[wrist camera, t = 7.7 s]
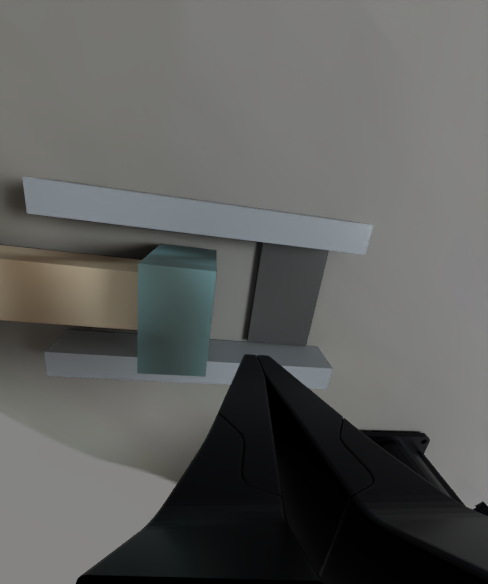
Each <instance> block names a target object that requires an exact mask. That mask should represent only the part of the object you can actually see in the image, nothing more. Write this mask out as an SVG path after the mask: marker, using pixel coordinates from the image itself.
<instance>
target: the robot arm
mask: <svg viewBox="0 0 488 584" xmlns="http://www.w3.org/2000/svg"><path fill="white" fill-rule="evenodd" d="M429 441H430V439H429V438H428V437H427V435H426V434H424V433H401V432H361V431H360V430H358V429H357V428H356V427H355V426H353V425H352V424H351V423H350V422H349V421H347V420H346V419H343V417H342V416H341V415H340V414H339V413H338V412H336V411H335V410H334V409H333V408H332V407H330V406H329V405H328V404H327V403H326V402H324V401H323V400H322V399H321V398H319V397H318V396H317V395H316V394H315V393H313V392H312V391H311V390H310V389H309V388H307V387H306V386H305V385H304V384H303V383H301V382H300V381H299V380H298V379H297V378H295V377H294V376H293V375H292V374H291V373H289V372H288V371H287V370H286V369H285V368H283V367H282V366H281V365H280V364H278V363H277V362H276V361H275V360H274V359H272V358H271V357H270V356H268V355H257V356H256V355H252V354H244V356H243V358H242V360H241V362H240V365H239V367H238V369H237V371H236V374H235V376H234V378H233V380H232V383H231V385H230V387H229V389H228V392H227V394H226V396H225V399H224V401H223V403H222V405H221V408H220V410H219V412H218V415H217V416H216V418H215V421H214V423H213V425H212V427H211V429H210V431H209V433H208V435H207V437H206V439H205V441H204V443H203V444H202V446H201V448H200V449H199V451H198V453H197V454H196V456H195V457H194V459H193V460H192V462H191V463H190V465H189V466H188V468H187V470H186V471H185V473H184V474H183V476H182V477H181V479H180V480H179V482H178V483H177V485H176V487H175V488H174V489H173V491H172V492H171V494H170V495H169V497H168V498H167V500H166V501H165V503H164V504H163V506H162V507H161V509H160V510H159V511H158V513H157V514H156V515H155V516H154V518H153V519H152V520H151V521H150V522H149V523H148V524H147V525H146V526H145V527H144V528H143V529H142V530H141V531H140V532H138V533H137V534H136V535H134V536H133V537H132V538H130V539H129V540H128V541H126V542H125V543H124V544H122V545H121V546H120V547H118V548H117V549H116V550H115V551H113V552H112V553H110V554H109V555H108V556H106V557H105V558H104V559H103V560H101V561H100V562H98V563H97V564H96V565H95V566H93V567H92V568H91V569H89V570H88V571H87V572H85V573H84V574H83V575H81V576H80V577H79V578H78V579H77V582H76V584H488V506H487V505H486V504H485V503H484V502H481V503H479V504H477V505H476V508H475V509H473V510H472V509H470V508H468V507H466V506H465V505H464V504H463V502H462V501H461V500H460V499H459V497H458V496H457V495H456V494H455V492H454V491H453V490H452V489H451V487H450V486H449V485H448V484H447V483H446V481H445V480H444V479H443V478H442V476H441V475H440V474H439V473H438V471H437V470H436V469H435V468H434V466H433V465H432V464H431V463H430V461H429V460H428V459H427V458H426V456H425V455H424V452H425V450H426V448H427V446H428V444H429Z"/></svg>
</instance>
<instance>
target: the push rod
mask: <svg viewBox="0 0 488 584" xmlns="http://www.w3.org/2000/svg"><path fill="white" fill-rule="evenodd" d="M215 281H216V250H209V249H201V248H192V247H183V246H175V245H166V244H160V245H159V246H158V247H157V248H155V249H154V250H153V251H152V252H151V253H150V254H148V255H147V256H146V257H145V258H144V259H143V260H137V259H128V258H118V257H109V256H99V255H90V254H81V253H71V252H62V251H52V250H43V249H33V248H24V247H15V246H5V245H0V320H4V321H18V322H32V323H46V324H60V325H74V326H88V327H102V328H116V329H130V330H137V373H140V374H160V375H180V376H200V377H206V367H207V358H208V348H209V338H210V329H211V319H212V310H213V300H214V291H215Z"/></svg>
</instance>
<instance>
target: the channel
mask: <svg viewBox="0 0 488 584" xmlns="http://www.w3.org/2000/svg"><path fill="white" fill-rule="evenodd" d="M22 178H23V186H24V194H25V202H26V211H27V213H28V214H36V215H44V216H52V217H61V218H69V219H77V220H85V221H93V222H101V223H110V224H118V225H126V226H134V227H142V228H151V229H159V230H167V231H175V232H183V233H191V234H200V235H208V236H216V237H224V238H232V239H241V240H249V241H257V242H262V246H261V253H260V259H259V266H258V272H257V279H256V285H255V291H254V298H253V304H252V311H251V317H250V323H249V330H248V336H247V341H248V342H241V341H227V340H212V339H209V348H208V358H207V367H206V377H200V376H180V375H160V374H140V373H137V334H126V333H111V332H97V331H82V330H68V331H67V332H66V333H64V334H63V335H62V336H61V337H60V338H59V339H58V340H57V341H56V342H55V343H53V344H52V345H51V346H50V347H49V348H48V349H47V350H46V351H45V352H44V356H45V364H46V372H47V376H57V377H79V378H100V379H122V380H143V381H165V382H186V383H208V384H229V385H231V383H232V380H233V378H234V376H235V374H236V371H237V369H238V367H239V365H240V362H241V360H242V358H243V356H244V354H252V355H256V356H257V355H268V356H270V357H271V358H272V359H274V360H275V361H276V362H277V363H278V364H280V365H281V366H282V367H283V368H285V369H286V370H287V371H288V372H289V373H291V374H292V375H293V376H294V377H295V378H297V379H298V380H299V381H300V382H301V383H303V384H304V385H305V386H306V387H307V388H315V389H327V387H328V383H329V380H330V376H331V373H332V369H333V368H332V367H331V365H330V364H329V363H328V361H327V360H326V358H325V357H324V355H323V354H322V352H321V351H320V349H319V348H318V347H314V346H306V344H307V339H308V335H309V331H310V327H311V323H312V318H313V314H314V310H315V306H316V302H317V297H318V293H319V289H320V285H321V281H322V276H323V272H324V268H325V264H326V260H327V256H328V251H329V250H331V251H339V252H347V253H355V254H363V255H365V253H366V250H367V246H368V243H369V239H370V236H371V232H372V229H373V225H369V224H364V223H358V222H352V221H346V220H339V219H332V218H325V217H317V216H310V215H303V214H296V213H289V212H282V211H275V210H267V209H260V208H253V207H246V206H239V205H232V204H224V203H217V202H210V201H203V200H196V199H189V198H181V197H174V196H167V195H160V194H153V193H146V192H139V191H131V190H124V189H117V188H110V187H103V186H96V185H88V184H81V183H74V182H67V181H60V180H52V179H42V178H32V177H23V176H22ZM256 342H262V343H256ZM270 343H276V344H270ZM285 344H290V345H285ZM299 345H305V346H299Z"/></svg>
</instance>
